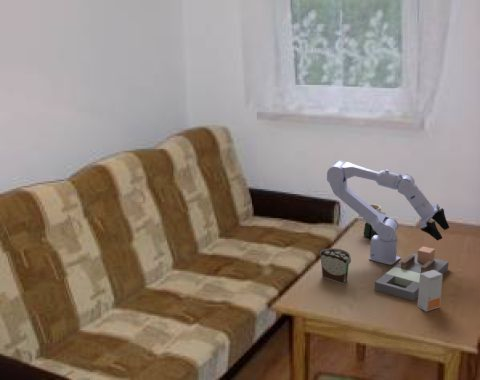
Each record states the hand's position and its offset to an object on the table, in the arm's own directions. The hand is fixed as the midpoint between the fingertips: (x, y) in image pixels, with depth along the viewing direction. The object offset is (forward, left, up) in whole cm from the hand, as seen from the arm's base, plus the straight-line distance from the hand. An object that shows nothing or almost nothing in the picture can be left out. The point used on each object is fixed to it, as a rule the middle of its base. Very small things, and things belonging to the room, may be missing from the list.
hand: (443, 233), depth 229 cm
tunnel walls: (-4, -12, -10) cm, 16 cm away
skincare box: (+9, -32, -13) cm, 36 cm away
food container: (-26, -30, -13) cm, 42 cm away
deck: (-4, -16, -13) cm, 21 cm away
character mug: (-35, +12, -13) cm, 39 cm away
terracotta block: (-4, -5, -10) cm, 12 cm away
